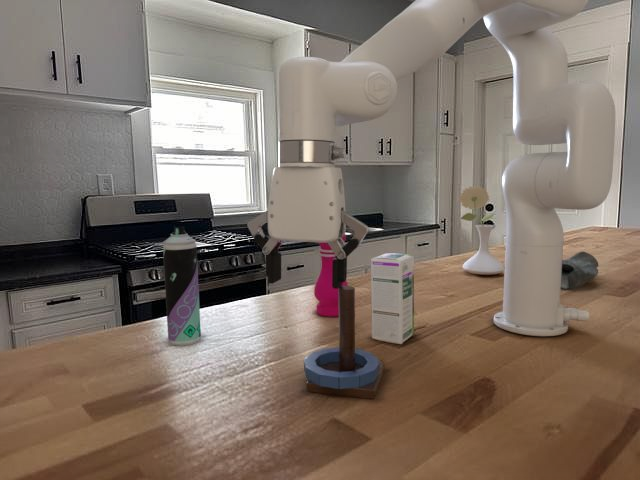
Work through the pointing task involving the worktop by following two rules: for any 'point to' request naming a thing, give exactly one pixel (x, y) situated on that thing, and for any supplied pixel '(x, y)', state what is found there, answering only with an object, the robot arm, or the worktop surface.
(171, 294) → the spray can
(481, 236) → the flower in vase
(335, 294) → the pepper mill
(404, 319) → the syrup box
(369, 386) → the stand
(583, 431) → the worktop surface
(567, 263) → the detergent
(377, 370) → the ring
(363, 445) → the worktop surface
